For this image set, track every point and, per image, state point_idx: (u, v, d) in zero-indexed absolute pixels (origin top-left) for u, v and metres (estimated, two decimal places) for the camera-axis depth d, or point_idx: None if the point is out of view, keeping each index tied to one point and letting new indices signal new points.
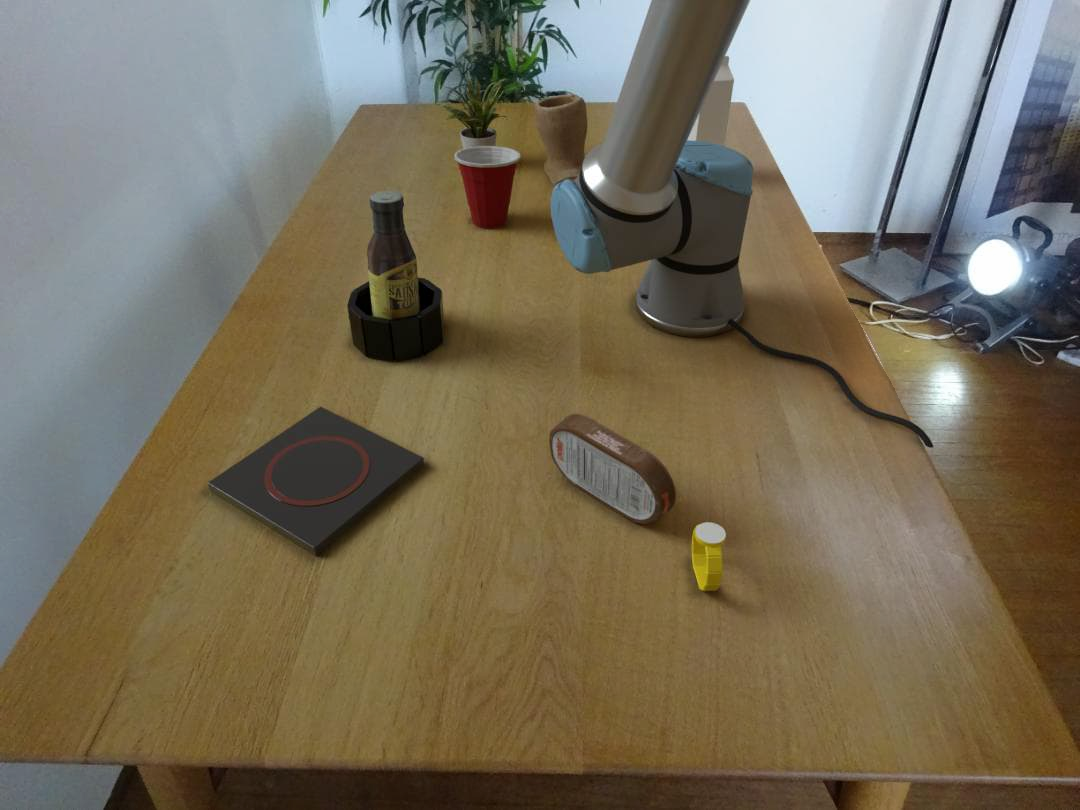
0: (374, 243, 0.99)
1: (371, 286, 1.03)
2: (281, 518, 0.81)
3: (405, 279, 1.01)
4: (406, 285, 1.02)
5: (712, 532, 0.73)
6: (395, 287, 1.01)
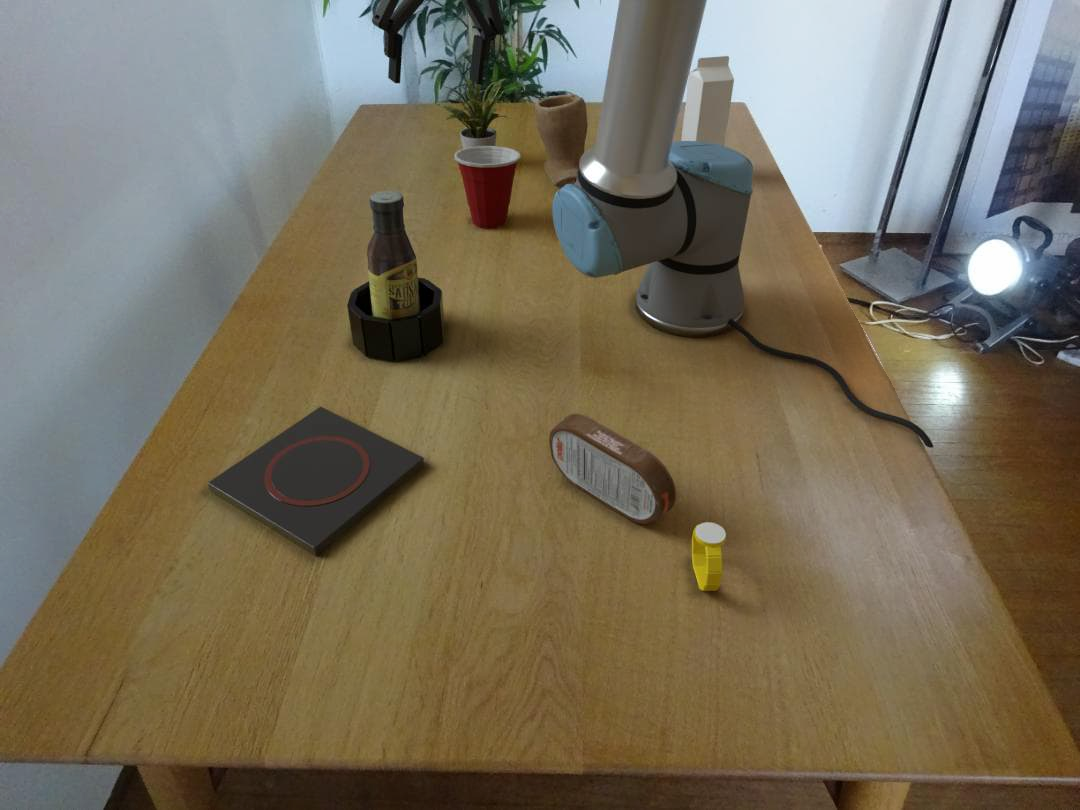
0: (374, 243, 0.99)
1: (371, 286, 1.03)
2: (281, 518, 0.81)
3: (405, 279, 1.01)
4: (406, 285, 1.02)
5: (712, 532, 0.73)
6: (395, 287, 1.01)
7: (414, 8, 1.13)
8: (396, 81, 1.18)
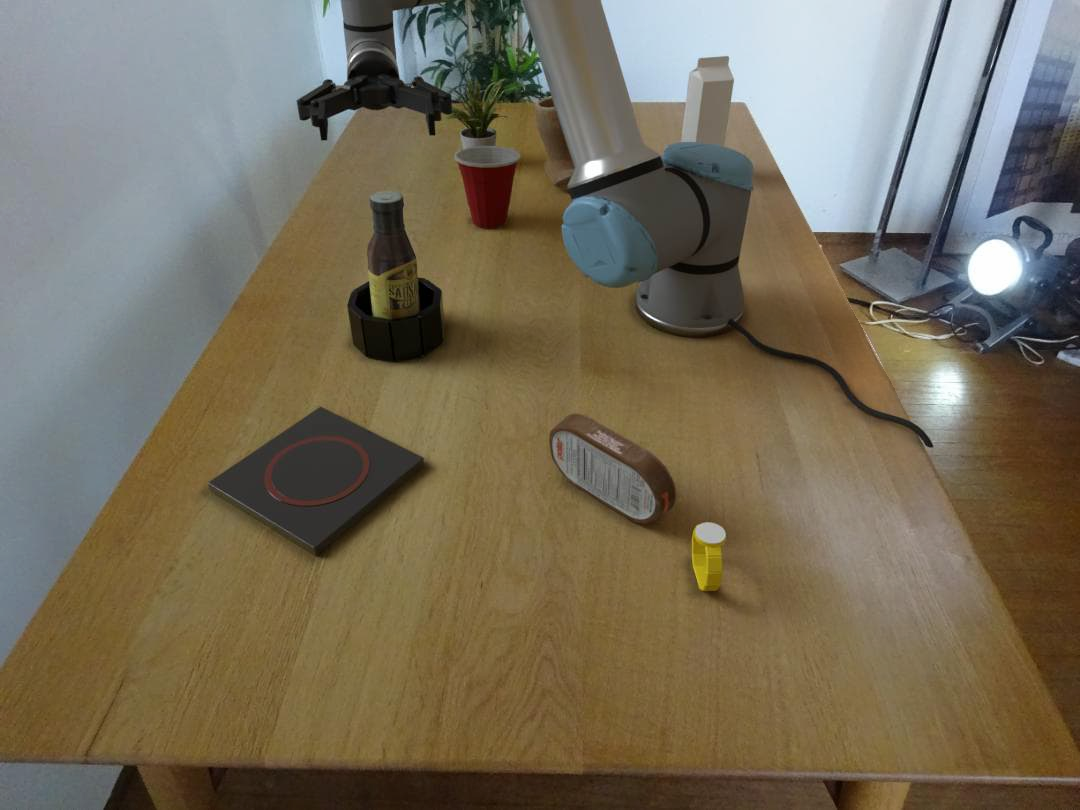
0: (374, 243, 0.99)
1: (371, 286, 1.03)
2: (281, 518, 0.81)
3: (405, 279, 1.01)
4: (406, 285, 1.02)
5: (712, 532, 0.73)
6: (395, 287, 1.01)
7: (337, 93, 1.08)
8: (319, 118, 1.00)
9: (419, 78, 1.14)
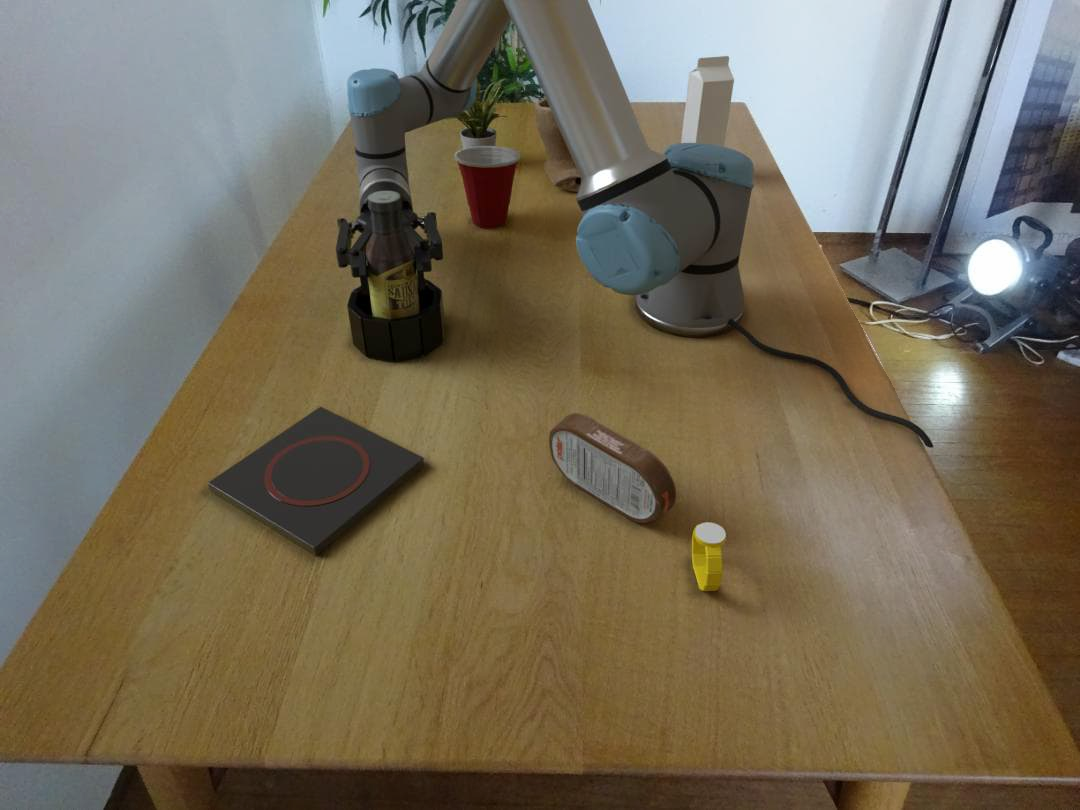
0: (372, 243, 0.99)
1: (370, 286, 1.03)
2: (281, 518, 0.81)
3: (404, 279, 1.01)
4: (405, 285, 1.02)
5: (712, 532, 0.73)
6: (394, 287, 1.01)
7: (366, 235, 1.06)
8: (360, 274, 0.97)
9: (432, 214, 1.11)
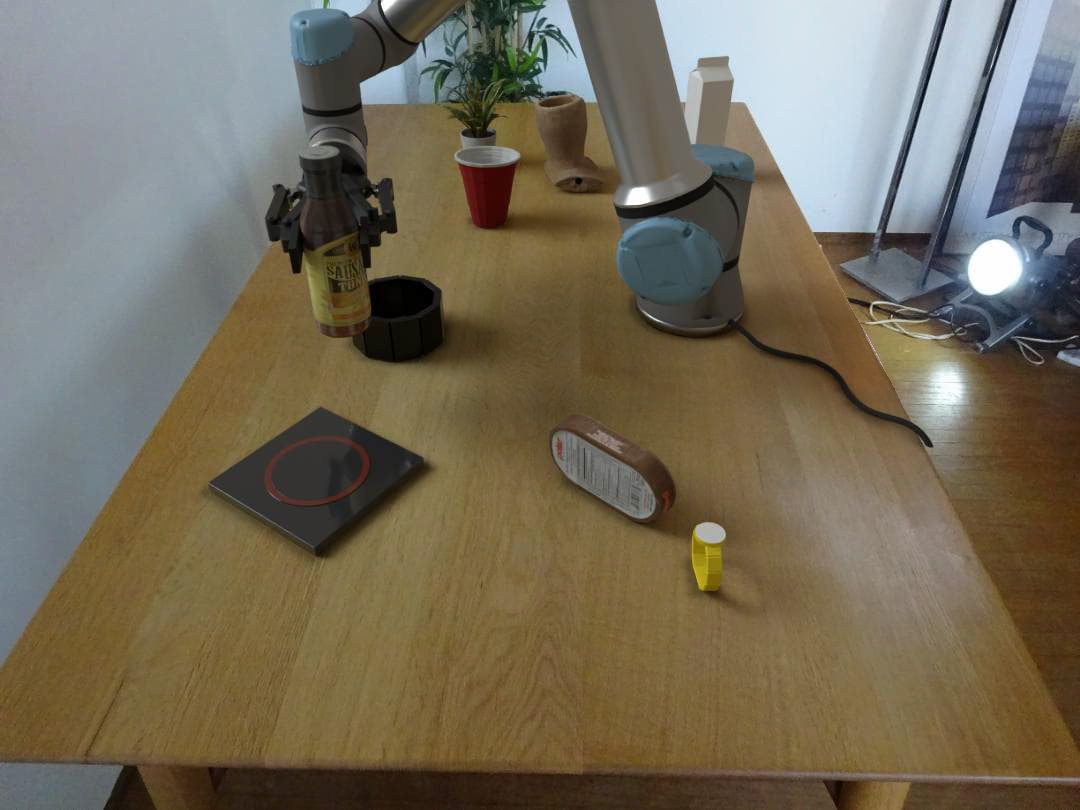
0: (306, 210, 0.81)
1: (306, 264, 0.84)
2: (281, 518, 0.81)
3: (346, 255, 0.83)
4: (348, 263, 0.83)
5: (712, 532, 0.73)
6: (334, 265, 0.83)
7: (304, 203, 0.88)
8: (289, 247, 0.79)
9: (387, 180, 0.93)
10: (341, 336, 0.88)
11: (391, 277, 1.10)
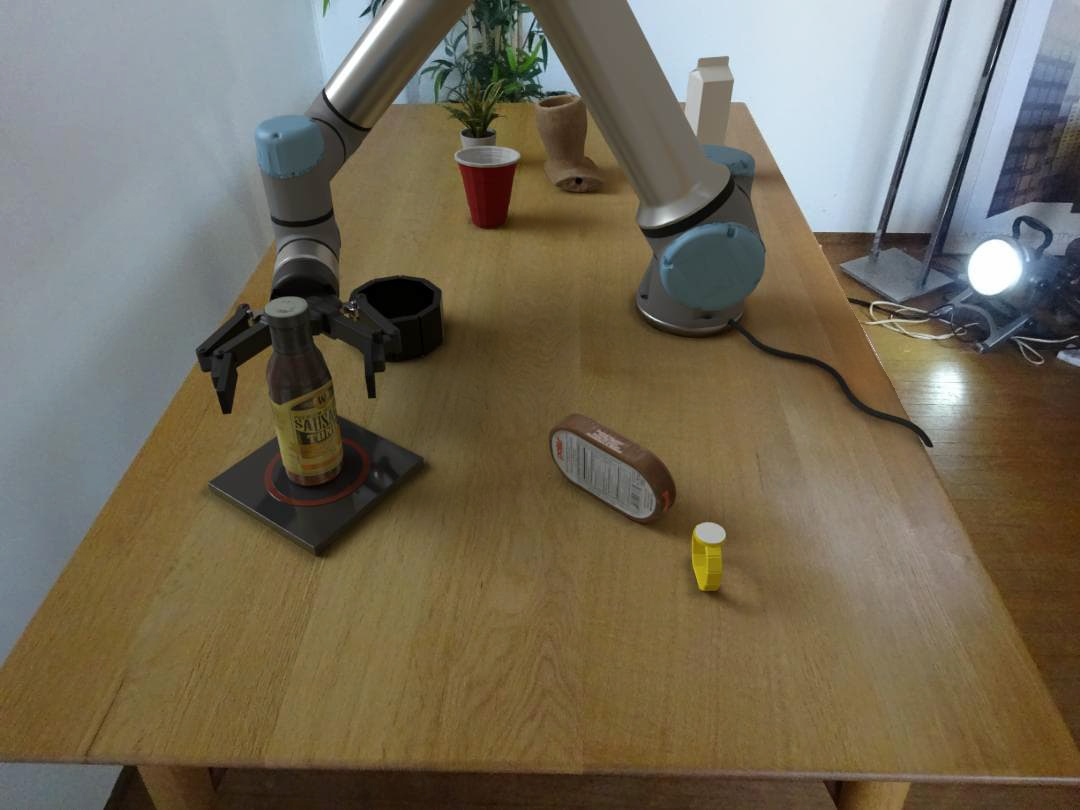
0: (273, 364, 0.76)
1: (273, 415, 0.80)
2: (281, 518, 0.81)
3: (315, 408, 0.78)
4: (317, 415, 0.79)
5: (712, 532, 0.73)
6: (302, 419, 0.78)
7: (251, 332, 0.83)
8: (218, 389, 0.75)
9: (361, 297, 0.89)
10: (311, 484, 0.83)
11: (391, 277, 1.10)
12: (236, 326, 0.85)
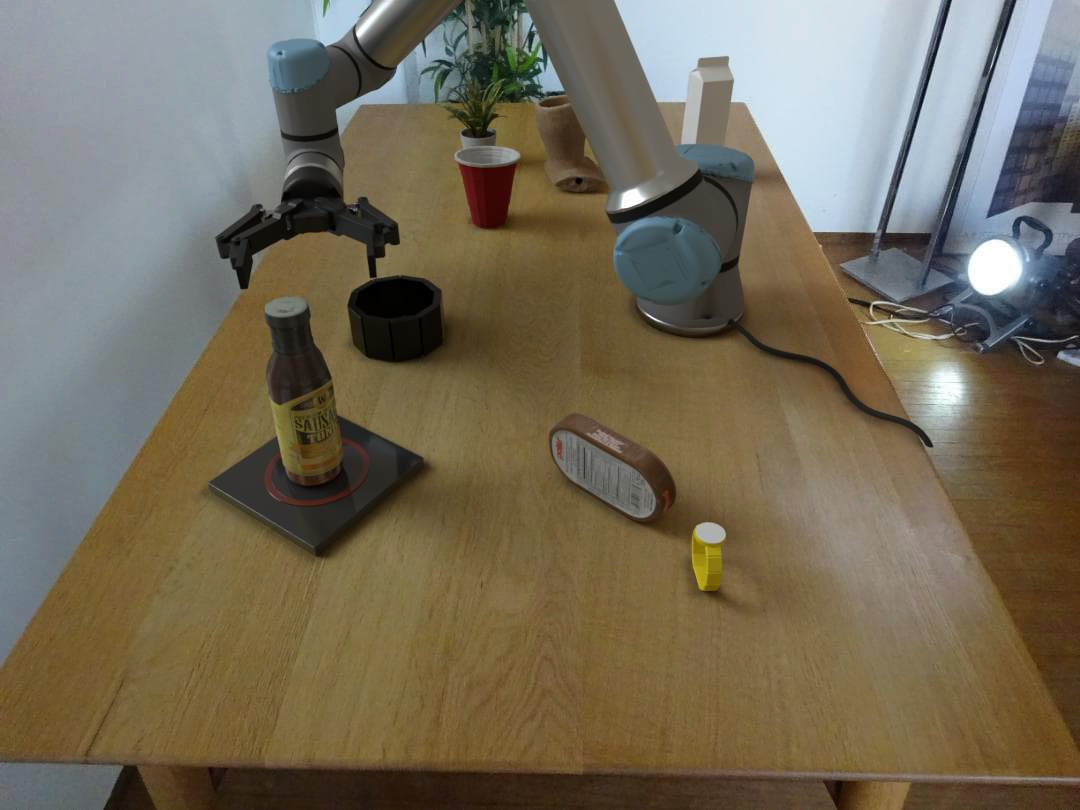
0: (273, 364, 0.76)
1: (273, 415, 0.80)
2: (281, 518, 0.81)
3: (315, 408, 0.78)
4: (317, 415, 0.79)
5: (712, 532, 0.73)
6: (302, 419, 0.78)
7: (265, 225, 0.93)
8: (236, 265, 0.84)
9: (363, 199, 0.98)
10: (311, 484, 0.83)
11: (391, 277, 1.10)
12: (251, 221, 0.94)
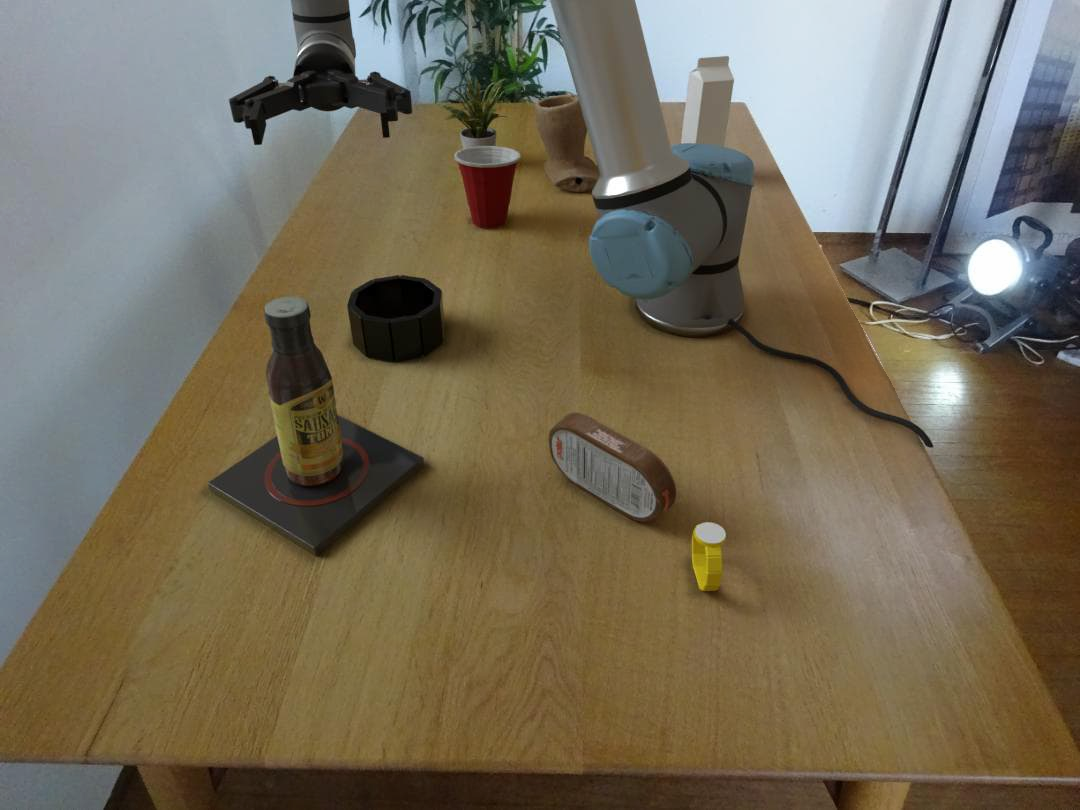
0: (273, 364, 0.76)
1: (273, 415, 0.80)
2: (281, 518, 0.81)
3: (315, 408, 0.78)
4: (317, 415, 0.79)
5: (712, 532, 0.73)
6: (302, 419, 0.78)
7: (278, 91, 0.93)
8: (250, 118, 0.85)
9: (376, 73, 0.99)
10: (311, 484, 0.83)
11: (391, 277, 1.10)
12: (264, 89, 0.95)
